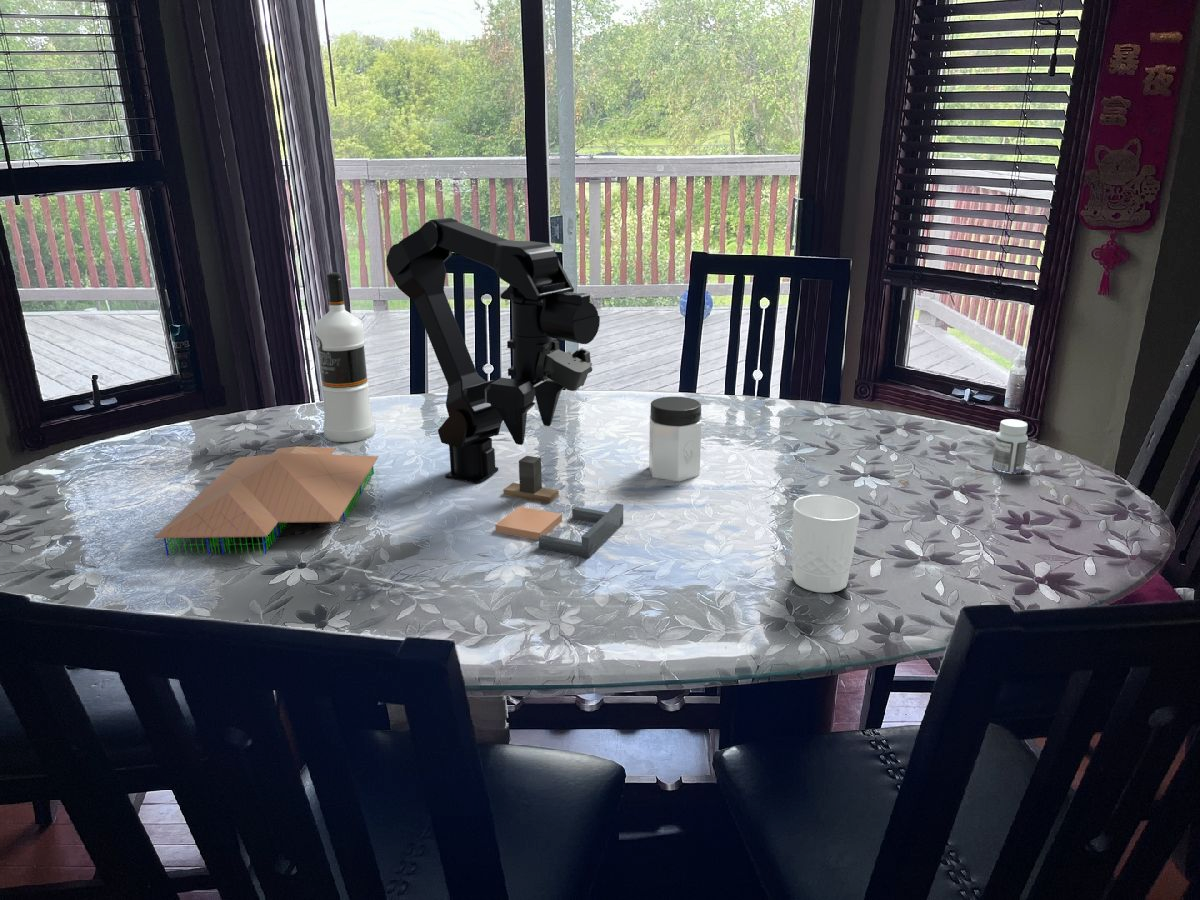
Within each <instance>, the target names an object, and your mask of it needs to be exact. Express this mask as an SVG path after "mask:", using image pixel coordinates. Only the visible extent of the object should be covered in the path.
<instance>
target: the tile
mask: <svg viewBox="0 0 1200 900" xmlns="http://www.w3.org/2000/svg"><path fill="white" fill-rule="evenodd" d="M562 522H563V514H562V513H558V512H554V511H553V512H552V511H546V510H541V509H536V508H530V507H525V506H518V507H517V508H515V509H514V510H513V511H511V512H510V513H509V514H508V515H506V516H505V517H503V518H502V519H501V520H499V521H498V522H497V523H495V524H494V526H495V527H494V528H495V533H499V534H504V535H510V536H515V537H520V538H526V539H531V540H535V541H539V537H540V536H541V535H545V536H548V534H549V533H550V532H551V531H553V530H554V529H555V528H556V527H558V525H559V524H561V523H562Z"/></svg>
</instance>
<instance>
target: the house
mask: <svg viewBox="0 0 1200 900" xmlns="http://www.w3.org/2000/svg"><path fill="white" fill-rule="evenodd" d="M335 450H336V447H322V446H321V447H320V446H298V445H297V446H287V447H280V448H277V449H276V450H275V451H274V452H272V453H269V454H259V455H251V456H239V457H238V458H236V459H235V460H234V461H232V463H231V464H230V465H229V466H228V467H226V468H225V470H223V472H222V473H220V474H219V475H218V476H217V477H216V478H214V480H213V481H212V482H210V483H209V485H208V486H207V487H205V488H204V489H203V490H202V491H201V492H200V493H199V494H198V495H197V496H196V497H195V498H194V499H192V501H191V502H190V503H188V504H187V505H186V506H185V507H184V509H182V511H180V512H178V514H177V515H176V516H175V517H174V518H172V520H171V521H170V522H168V524H166V525H165V526H164V528H162V529H161V530H160V531H158V533H157V534H156V535H155V536H154V537H153V538H154V539H163V541H164V545H165V551H166V556H169V554H170V553H171V550H172V552H173V556H175V555H176V553H175V547H176V545H177V544H178V545H177V546H178V551H179V555H180V554H181V548H180V546H183V547H184V550H185V555H186V554H187V549H186V548H187V547H186V541H185V539H186V538H187V539H189V546H190V549H191V555H192V554H193V555H194V552H193V547H192V546H193V545H194V546H196V549H197V555H198V554H199V555H200V553H199V547H198V546H202V549H203V554H205V555H206V551H205V547H204V546H205V545H206V547H207V554H208V555H210V554H211V552H212V551H213V550H214V551H215V555H216V554H217V555H218V554H220V555H221V553H222V555H225V554H224V553H225V552H227V551H226V550H227V549H228V551H229V555H232V554H231V545H233V546H234V551H235V555H237V548H236V541H235V539H236V538H239V545H240V548H241V549H240V550H241V554H242V553H243V552H244V551H243V548H242V545H246V549H247V554H248V553H249V547H248V545H249V544H248V540H247V539H248V538H251V542H252V543H250V545H252V549H253V554H254V553H255V547H254V545H255V544H254V539H253V538H257V541H258V543H257V544H258V549H259V555H262V552H261V546H260V545H263V552H264V555H266V554H267V550H268V551H269V547H270V548H271V545H272V546H273V542H274V543H275V541H276V538H277V536H278V535H279V536H280V534H281V533H282V529H283V530H284V527H285V528H286V525H287V526H288V524H289V523H293V524H294V523H338V522H339V523H340V522H341V521H340V518H342V521H343V523H346V520H347V519H348V517H349V515H350V514H351V513H352V510H353V509H354V506H356V504H357V501H358V500H359V498H361V495H362V493H363V492H364V491H365V489H366V486H367V485H369V484H368V483H370V480H371V479H372V477H373V476H374V474H375V471H374V470H375V469H374V465H375V464H376V461H377V460H378V459H379V458H380V457H379V456H378V455H355V454H353V455H352V454H351V455H350V454H349V455H348V454H333V453H334V451H335ZM371 476H372V477H371ZM287 523H288V524H287ZM280 532H281V533H280ZM268 535H269V536H268ZM279 536H278V537H279ZM223 537H224V538H223ZM193 538H194V539H195V543H191V539H193ZM197 538H198V539H200V538H201V544H198V541H197ZM203 538H204V539H205V542H206V543H204V541H203ZM211 538H212V539H211ZM232 538H233V539H232ZM241 538H245V543H242V540H241ZM260 538H261V539H262V542H261V543H260ZM182 539H183V543H180V542H179V541H181V540H182ZM277 539H278V538H277ZM274 540H275V541H274ZM218 542H220V544H219V543H218ZM230 542H231V543H232V544H231V543H230ZM216 545H217V546H216ZM170 546H171V548H170ZM219 546H220V547H221V552H220V547H219ZM229 546H230V547H229ZM216 547H217V549H218V550H217V549H216ZM214 548H215V549H214ZM170 549H171V550H170ZM217 551H218V553H217ZM169 552H170V553H169ZM249 554H250V553H249ZM255 554H256V553H255ZM187 555H188V554H187Z"/></svg>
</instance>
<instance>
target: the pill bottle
mask: <svg viewBox="0 0 1200 900" xmlns="http://www.w3.org/2000/svg"><path fill="white" fill-rule="evenodd" d="M1027 431H1028V423H1027V422H1026V421H1023V420H1021V419H1012V418H1011V419H1010V418H1009V419H1003V420H1001V421H1000V425H999V431H998V432H997V433H996V435H995V442H994V447H993V454H992V461H991V462H992V463H991V467H992V466H993V467H994V468H996V469H998V470H1001V471H1005V472H1019V471H1022V470H1023V471H1024V467H1025V466H1024V465H1025V460H1026V454H1027V447H1028V442H1029V437H1028V435H1027Z"/></svg>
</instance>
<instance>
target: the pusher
mask: <svg viewBox="0 0 1200 900" xmlns="http://www.w3.org/2000/svg"><path fill="white" fill-rule="evenodd" d="M518 473H519V474H518V476H519V483H518V482H512V483H511V484H509V485H507V486H506V487H505V488H503V496H506V497H507V496H508V497H513V498H518V499H525V500H530V501H536V502H542V503H546V504H551V503H552V502H553V501H555V500H556V499H557V498H558V497H559V496H560V494H559V493H560V492H559V491H560V490H559V489H553V488H550V487H549V488H548V487H547V488H546V487H543V481H542V480H543V479H542V477H543V475H542V474H543V473H542V457H539V456H531V455H525V456H524V457H522V458H520V459H519V460H518Z"/></svg>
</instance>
